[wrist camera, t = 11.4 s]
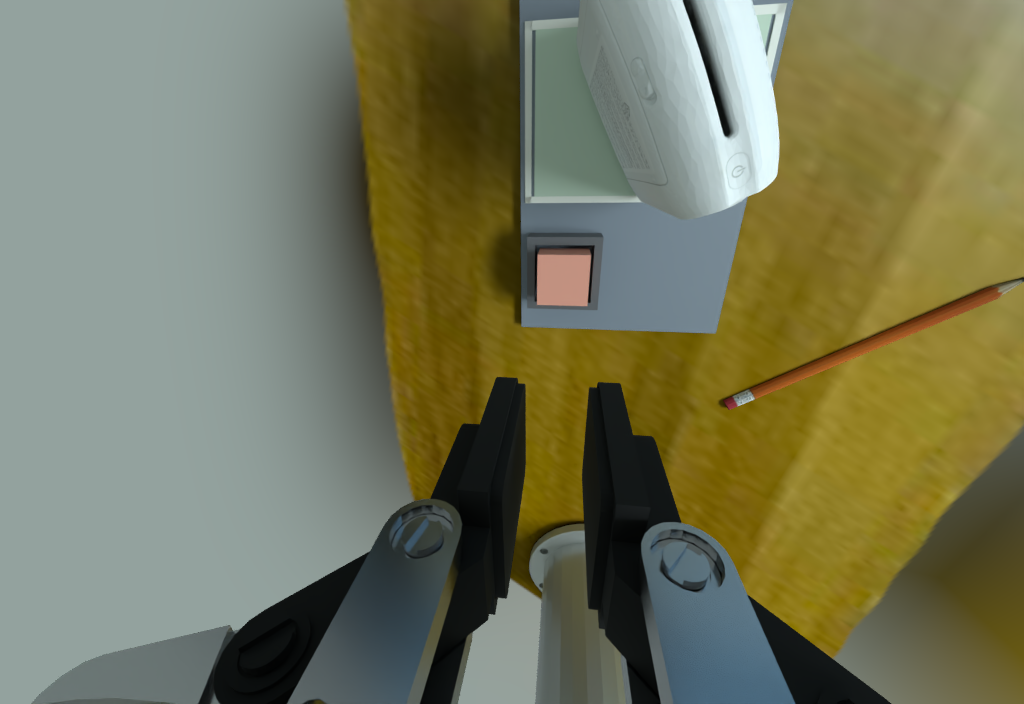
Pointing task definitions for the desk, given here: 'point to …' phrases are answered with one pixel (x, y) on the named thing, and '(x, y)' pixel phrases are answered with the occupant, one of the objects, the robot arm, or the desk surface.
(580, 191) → the activity board
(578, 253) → the button
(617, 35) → the photo printer
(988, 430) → the desk surface
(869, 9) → the desk surface
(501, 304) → the desk surface
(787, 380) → the pencil
